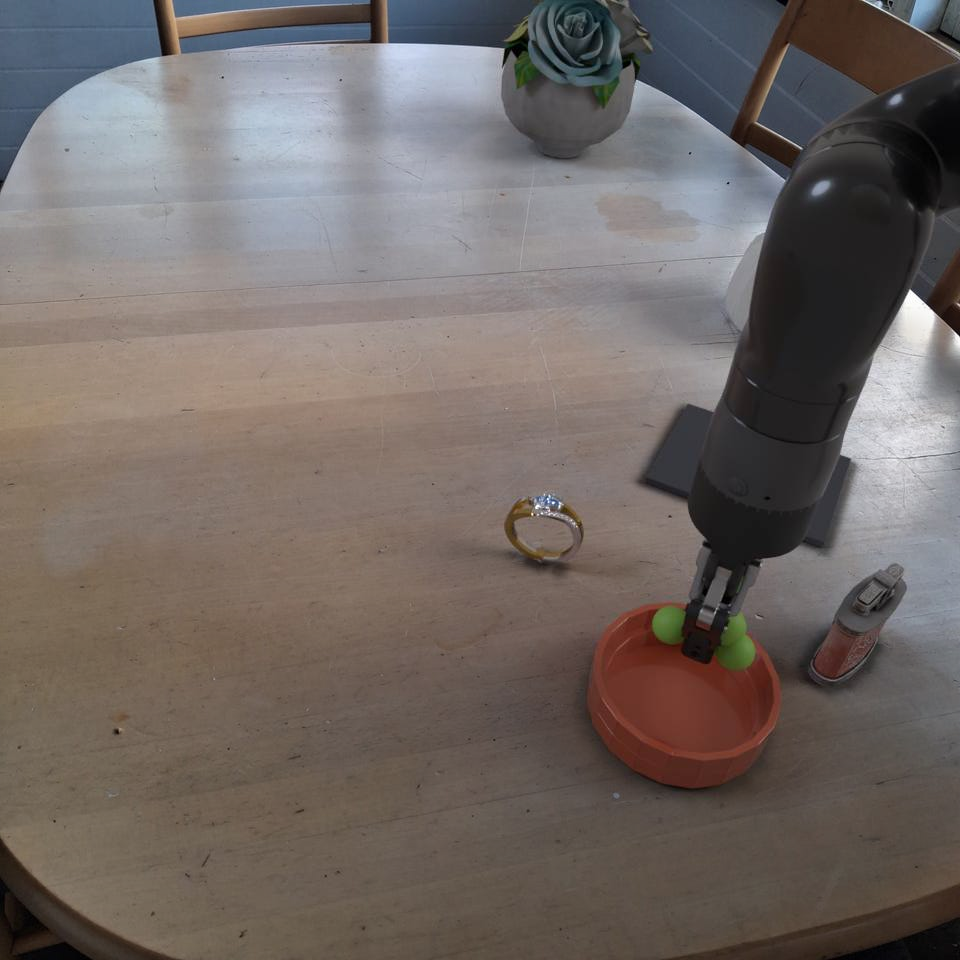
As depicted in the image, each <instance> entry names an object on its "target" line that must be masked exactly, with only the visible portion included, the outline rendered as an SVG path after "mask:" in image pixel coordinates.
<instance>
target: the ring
mask: <svg viewBox="0 0 960 960" xmlns="http://www.w3.org/2000/svg"><path fill="white" fill-rule="evenodd" d="M527 505H529V506H531V508H528V507H525V506H527ZM536 516H537V517H540V518H545V519H551V520H555V521H559V522H561V523H562V524H564V525H566V526H567V528H568V529H569V530H570V532H571V535H572V538H573V539H572V541H573V543H572V545H571V546H570V547H569V548H568V549H566V550H565V551H562V552H557V553H552V552H547V551H546V550H544V549H543V548H534V546H533V547H532V546H531V545H529V544H528V543H527V542H526V541H525V540H523V538H522V537H521V536H520V535H519V533H518V531H517V529H516V526H515V522H517V521H518V520H521V519H523V518H529V517H536ZM503 528H504V529H503V530H504V533H505V535H506V537H507V540H509V542H510V543H511V545H512V546H513V547H515V549H516V550H517V551H519V552H520V553H521V554H523V556H526V557H528V558H529V559H532V560H533V562H534V563H535V564H539V565H542V564H547V565H548V564H549V565H560V564H564V563H567V562H569V561H570V560H572V559H573V558H574V557H575V556H576V555H577V553H578V552H579V550H580V548H581V546H582V543H583V540H584V535H585V531H584V529H585V528H584V525H583V522H582V520H581V517H580V516H579V515H578V514H577V512H576V511H575V510H574V508H573V507H571V506H570V505H569V504H567V503H566V502H565V501H564V500H563V497H562V496H561V494H559V493H557V492H556V491H552V490H543V491H542V490H541V491H538V492H533V493H529V494H527V495H524V496H522V497H521V498H519V499H518V500H517V501H516V502H515V503H514V504H513V506H512V507H511V509H510V511H509V512H508V514H507V516H506V518H505V519H504V523H503Z"/></svg>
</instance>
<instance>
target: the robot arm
mask: <svg viewBox="0 0 960 960" xmlns="http://www.w3.org/2000/svg"><path fill="white" fill-rule="evenodd" d="M958 210H960V60H958V61H955V62H952V63H950V64H947V65H945V66H942V67H939V68H938V69H935V70H933V71H930V72H928V73H925V74H924V75H923V74H922V75H921V76H919V77H916V78H914V79H911V80H909V81H906V82H905V83H901V84H900V85H898V86H895V87H893V88H891V89H889V90H886V91H884V92H881V93H880V94H877V95H876V96H874V97H871V98H870V99H868V100H866V101H864V102H862V103H860V104H858V105H856V106H855V107H853V108H851V109H849V110H848V111H846V112H845V113H842V114H841V115H840V116H838V117H836V118H835V119H834V120H832V121H831V122H829V123H827V125H825V126H824V127H822V128H821V129H820V130H819V131H817V133H815V134H814V135H813V136H812V137H811V138H810V140H808V141H807V142H806V144H805V145H804V146H803V147H802V149H801V150H800V152H799V153H798V154H797V157H796V159H794V163H793V164H792V167H791V169H790V171H789V173H788V175H787V177H786V179H785V181H784V183H783V185H782V187H781V189H780V191H779V193H778V195H777V197H776V199H775V201H774V204H773V206H772V209H771V212H770V214H769V217H768V222H767V225H766V229H765V231H764V233H765V235H764V239H763V243H762V247H761V251H760V255H759V259H758V264H757V269H756V273H755V278H754V284H753V290H752V296H751V302H750V308H749V316H748V319H747V321H746V323H745V325H744V328H743V330H742V332H740V335H739V338H738V341H737V344H736V347H735V351H734V353H733V357H732V361H731V363H730V367H729V371H728V374H727V377H726V381H725V385H724V388H723V391H722V394H721V396H720V398H719V400H718V402H717V404H716V406H715V408H714V410H713V412H714V413H713V415H712V418H711V421H710V424H709V427H708V431H707V434H706V438H705V441H704V445H703V448H702V452H701V455H700V459H699V462H698V465H697V469H696V472H695V476H694V479H693V483H692V486H691V490H690V494H689V497H688V498H687V511H688V515H689V518H690V520H691V522H692V524H693V526H694V527H695V529H696V530H697V531H698V533H699V534H701V536H702V537H704V539H703V540H702V543H701V545H700V548H699V550H698V554H697V557H696V560H695V565H696V568H697V570H696V571H695V575H694V577H693V580H692V584H691V587H690V590H689V593H688V598H689V599H690V601H689V602H687V603H686V604H687V605H686V608H685V611H687V612H686V615H685V619H684V624H683V626H682V628H681V631H682V634H681V637H684V641H683V644H682V647H681V653H682V654H683V655H684V656H685V657H688V658H690V659H693V660H695V661H697V662H700V663H702V664H709V663H710V662H711V659H712V657H713V654H714V652H715V651H716V649H717V647H718V646H720V645H721V643H722V640H723V639H721V637H722V634H723V633H726V630H727V628H728V627H727V626H728V624H729V621H730V619H729V617H734V616H737V615H738V614H739V612H741V609H742V606H743V603H744V602H745V599H746V596H747V594H748V591H749V588H752V587H753V586H754V585H755V584H756V581H757V579H758V576H759V574H760V571H761V568H762V566H763V564H764V560H765V559H766V560H767V559H772V558H778V557H781V556H784V555H787V554H789V553H791V552H792V551H794V550H795V549H797V548H798V547H799V546H800V545H801V544H802V543H803V542H804V541H803V540H804V538H805V537H806V534H807V532H808V530H809V527H810V525H811V522H812V520H813V518H814V515H815V513H816V511H817V508H818V506H819V504H820V502H821V499H822V497H823V494H824V492H825V490H826V487H827V485H828V483H829V480H830V478H831V476H832V473H833V471H834V468H835V466H836V464H837V461H838V459H839V456H840V455H841V452H842V450H843V449H842V447H843V445H844V439H845V436H846V431H847V429H848V426H849V423H850V421H851V419H852V416H853V413H854V411H855V409H856V406H857V404H858V403H859V402H858V401H859V399H860V396H861V394H862V392H863V389H864V388H865V385H866V382H867V381H868V377H869V374H870V372H871V368H872V364H873V361H874V358H875V353H876V351H877V350H878V348H879V347H880V345H881V344H882V342H883V340H884V339H885V336H886V335H887V333H888V332H889V330H890V328H891V326H892V324H893V323H894V321H895V319H896V317H897V315H898V313H899V312H900V310H901V308H902V307H903V304H904V302H905V300H906V299H907V296H908V294H909V292H910V290H911V288H912V286H913V284H914V282H915V279H916V277H917V275H918V273H919V270H920V268H921V266H922V263H923V261H924V258H925V256H926V253H927V251H928V248H929V245H930V242H931V239H932V235H933V232H934V231H933V230H934V225H935V221H936V220H938V219H940V218H941V217H942V218H943V217H944V216H946V215H948V214H950V213H953V212H955V211H958Z"/></svg>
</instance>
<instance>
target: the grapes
mask: <svg viewBox="0 0 960 960" xmlns="http://www.w3.org/2000/svg"><path fill="white" fill-rule="evenodd" d="M685 615H686V612H685V611H684V610H682V609H681V608H679V607H675V606H666V607H663V608H661V609H660V610H659V611H657V613H656V614H655V616H654V618H653V621H652V628H653V632H654V634H655V635H656V637H657V638H658V639H659V640H660V641H662V642H664V643H666V644H678V643H680V642H682V641H684V637H681V634H682V631H681V628H682V626H683V624H684V619H685ZM729 619H730V621H729V624H728V626H727V627H728V628H727V630H726V633H723V634H722V637H721V639H723V640H722V643H721V645H720V646H718V647H717V649H716V651H715V652H714V654H716V658H717V660H718V661H719V663H720V664H721V665H722V666H723V667H725V668H726V669H729V670H732V671H740V670H743V669H746V668H747V667H749V666H750V665H751V664H752V662H753V660H754V658H755V646H754V644H753V642H752V640H751V639H750V638H749V637H748V636H747V635H745V633H746V631H747V627H748V626H747V621H746V618H745V616H744V614H743V613H742V612H741V611H740V612H739V614H738V615H737V616H734V617H729ZM714 654H713V655H714Z"/></svg>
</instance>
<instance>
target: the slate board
mask: <svg viewBox="0 0 960 960" xmlns="http://www.w3.org/2000/svg"><path fill="white" fill-rule="evenodd" d="M713 413H714V411H711V410H710V409H706V408H702V407H700V406H697V405H694V404H692V403H691V404H690V403H687V404H686V406H685V408H684V410H683V411H682V413H681V414H680V417H679V418H678V419H677V422H676V423H675V425H674V427H673V429H672V430H671V433H670V434H669V436H668V438H667V439H666V441H665V442H664V445H663V446H662V449H661V450H660V451H659V453H658V456H657V457H656V459H655V461H654V463H653V464H652V465H651V468H650V470H649V471H648V472H647V475H646V477H645V480H644V482H645V484H648V485H651V486H654V487H656V488H659V489H661V490H664V491H667V492H670V493H673V494H675V495H677V496H681V497H683V498H685V499H688V497H689V494H690V490H691V486H692V483H693V479H694V476H695V472H696V469H697V465H698V462H699V459H700V455H701V452H702V448H703V445H704V441H705V438H706V434H707V431H708V427H709V424H710V421H711V418H712V415H713ZM851 462H852V457H849V456H845V455H842V454H840V456H839V459H838V461H837V464H836V466H835V468H834V471H833V473H832V476H831V478H830V480H829V483H828V485H827V487H826V490H825V492H824V494H823V497H822V499H821V502H820V504H819V506H818V508H817V511H816V513H815V515H814V518H813V520H812V522H811V525H810V527H809V530H808V532H807V534H806V537H805V538H804V540H803V541H802V542H805V543H808V544H810V545H813V546H816V547H818V548H821V549H823V548H824V546H825V544H826V541H827V539H828V536H829V533H830V529H831V526H832V524H833V523H832V522H833V519H834V516H835V513H836V510H837V507H838V504H839V500H840V496H841V494H842V491H843V487H844V485H845V481H846V478H847V474H848V472H849V468H850V465H851Z"/></svg>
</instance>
